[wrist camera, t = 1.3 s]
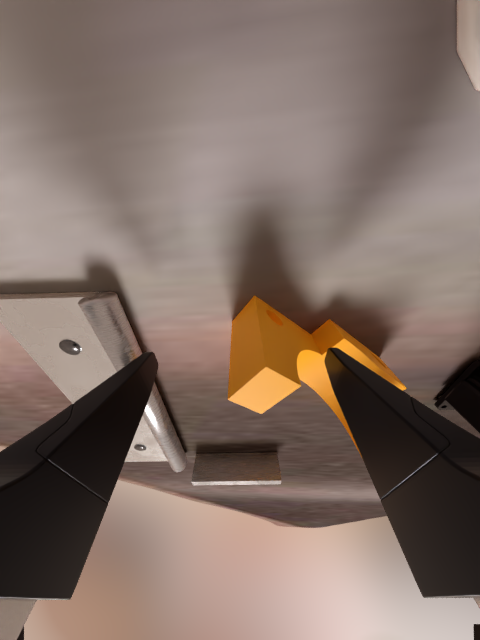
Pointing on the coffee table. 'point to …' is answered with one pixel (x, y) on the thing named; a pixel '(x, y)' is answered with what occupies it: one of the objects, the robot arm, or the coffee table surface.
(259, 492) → the coffee table surface
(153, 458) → the hinge bed
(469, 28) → the decorative candle
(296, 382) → the pipe clamp
